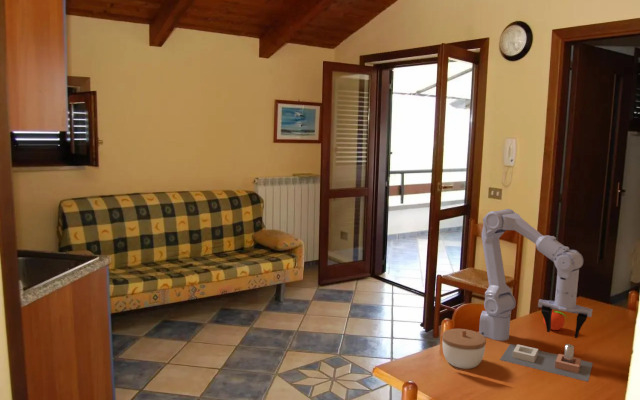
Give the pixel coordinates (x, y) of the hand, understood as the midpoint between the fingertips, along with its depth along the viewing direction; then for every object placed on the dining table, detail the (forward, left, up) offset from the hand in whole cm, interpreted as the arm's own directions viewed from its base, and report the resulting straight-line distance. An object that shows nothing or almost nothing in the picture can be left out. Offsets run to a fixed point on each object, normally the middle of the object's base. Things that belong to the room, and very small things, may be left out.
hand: (562, 333), depth 155 cm
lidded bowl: (-24, -19, -10) cm, 32 cm away
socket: (+3, -4, -8) cm, 9 cm away
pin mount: (-9, -4, -8) cm, 13 cm away
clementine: (-5, +27, -10) cm, 30 cm away
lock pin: (+3, -4, -8) cm, 9 cm away
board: (-3, -4, -9) cm, 11 cm away
